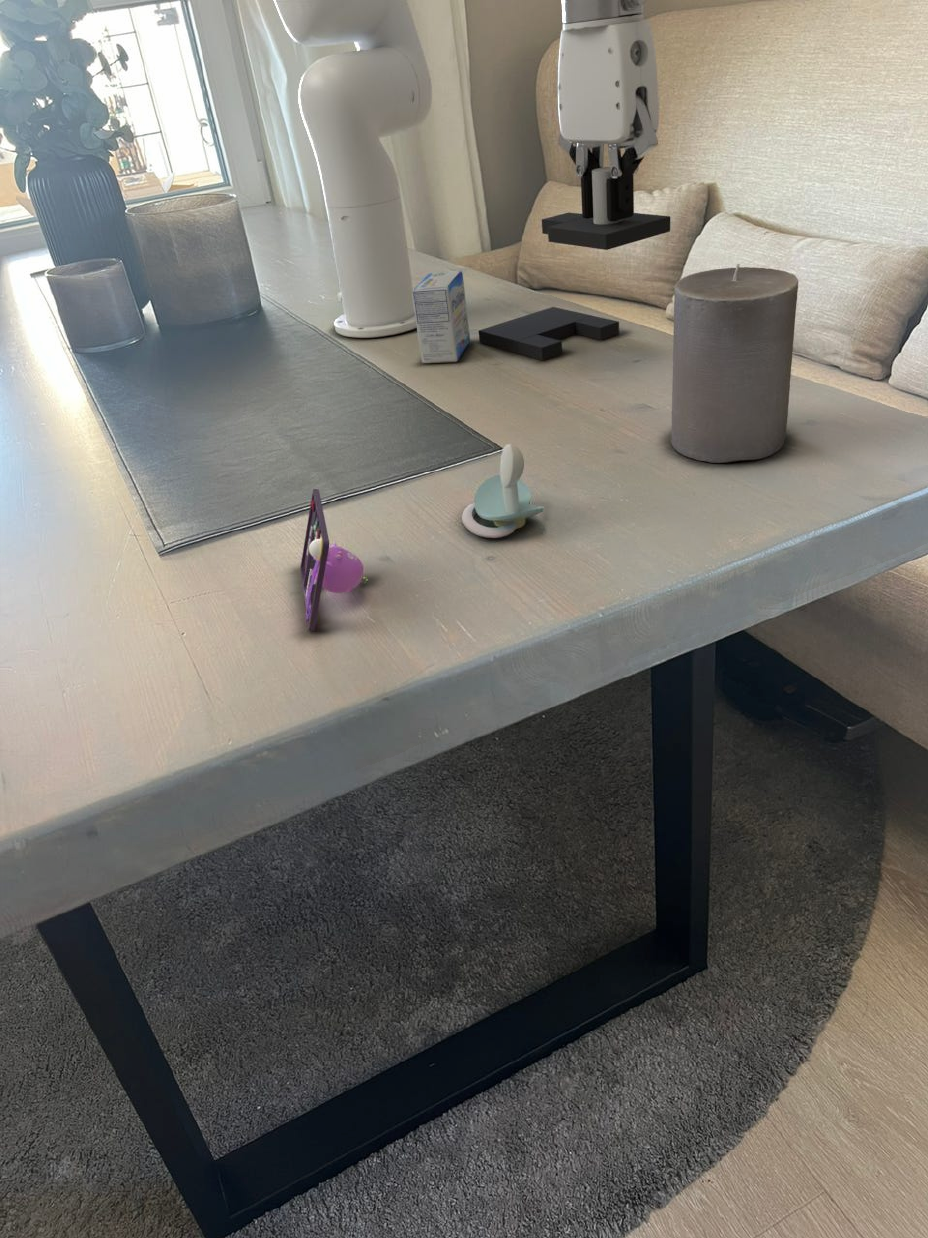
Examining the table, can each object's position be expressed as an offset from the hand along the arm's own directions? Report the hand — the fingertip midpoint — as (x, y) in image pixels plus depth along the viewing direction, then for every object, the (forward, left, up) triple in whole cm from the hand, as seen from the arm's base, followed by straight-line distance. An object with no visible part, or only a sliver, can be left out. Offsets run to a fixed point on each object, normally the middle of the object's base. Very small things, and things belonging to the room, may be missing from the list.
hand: (607, 215), depth 97 cm
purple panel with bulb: (+23, -49, -15) cm, 56 cm away
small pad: (-2, 0, -2) cm, 3 cm away
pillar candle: (+26, -11, -15) cm, 32 cm away
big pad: (-11, 0, -15) cm, 19 cm away
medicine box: (-17, -11, -15) cm, 25 cm away
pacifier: (+23, -34, -15) cm, 43 cm away
